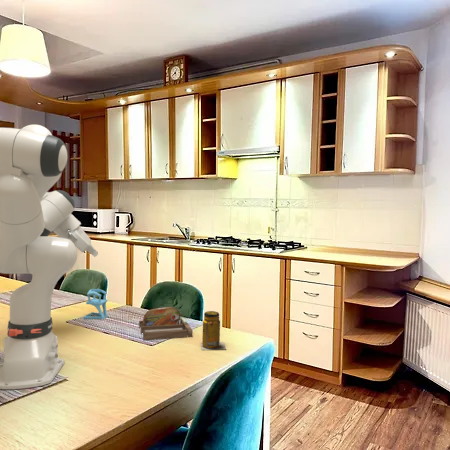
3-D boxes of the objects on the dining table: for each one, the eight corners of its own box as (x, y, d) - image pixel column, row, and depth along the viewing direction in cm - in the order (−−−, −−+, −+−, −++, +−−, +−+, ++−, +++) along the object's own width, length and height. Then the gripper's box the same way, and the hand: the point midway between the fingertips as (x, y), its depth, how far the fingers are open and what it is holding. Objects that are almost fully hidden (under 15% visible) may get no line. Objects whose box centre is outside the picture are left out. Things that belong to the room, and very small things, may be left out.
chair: (101, 320, 173) (102, 292, 173) (83, 319, 175) (83, 290, 174) (109, 315, 181) (110, 288, 180) (91, 314, 182) (92, 286, 182)
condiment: (200, 343, 151) (201, 310, 150) (224, 342, 151) (225, 310, 151) (201, 350, 143) (202, 315, 143) (226, 350, 144) (227, 315, 143)
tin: (144, 333, 160) (145, 311, 159) (141, 330, 162) (142, 309, 162) (180, 327, 168) (181, 306, 167) (176, 325, 170) (177, 304, 170)
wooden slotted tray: (192, 337, 157) (192, 328, 156) (143, 340, 151) (143, 331, 151) (183, 324, 172) (183, 316, 172) (139, 326, 167) (139, 319, 166)
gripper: (74, 224, 143) (103, 252, 147) (76, 220, 162) (102, 245, 166) (59, 237, 142) (90, 265, 145) (64, 232, 161) (90, 257, 165)
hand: (96, 255), depth 156 cm, fingers closed
